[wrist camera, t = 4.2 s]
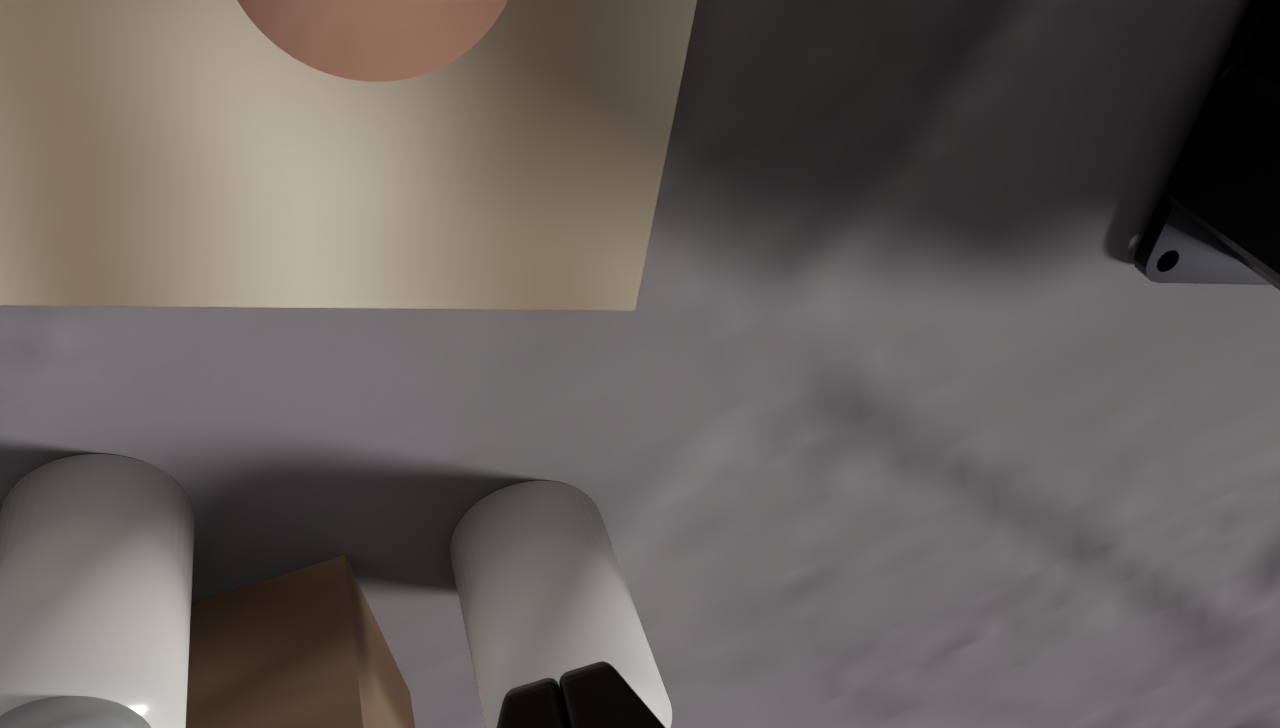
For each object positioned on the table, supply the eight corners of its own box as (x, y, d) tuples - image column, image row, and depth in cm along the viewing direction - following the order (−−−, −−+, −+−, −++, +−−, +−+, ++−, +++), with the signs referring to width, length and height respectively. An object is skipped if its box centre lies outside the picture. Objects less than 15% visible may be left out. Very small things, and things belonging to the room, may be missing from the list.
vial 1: (192, 450, 21) (178, 710, 16) (197, 582, 22) (187, 851, 18) (-12, 456, 20) (-87, 735, 15) (10, 594, 21) (-52, 882, 17)
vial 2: (614, 477, 24) (702, 701, 19) (590, 591, 25) (666, 821, 21) (457, 484, 23) (512, 721, 18) (443, 602, 24) (490, 846, 20)
